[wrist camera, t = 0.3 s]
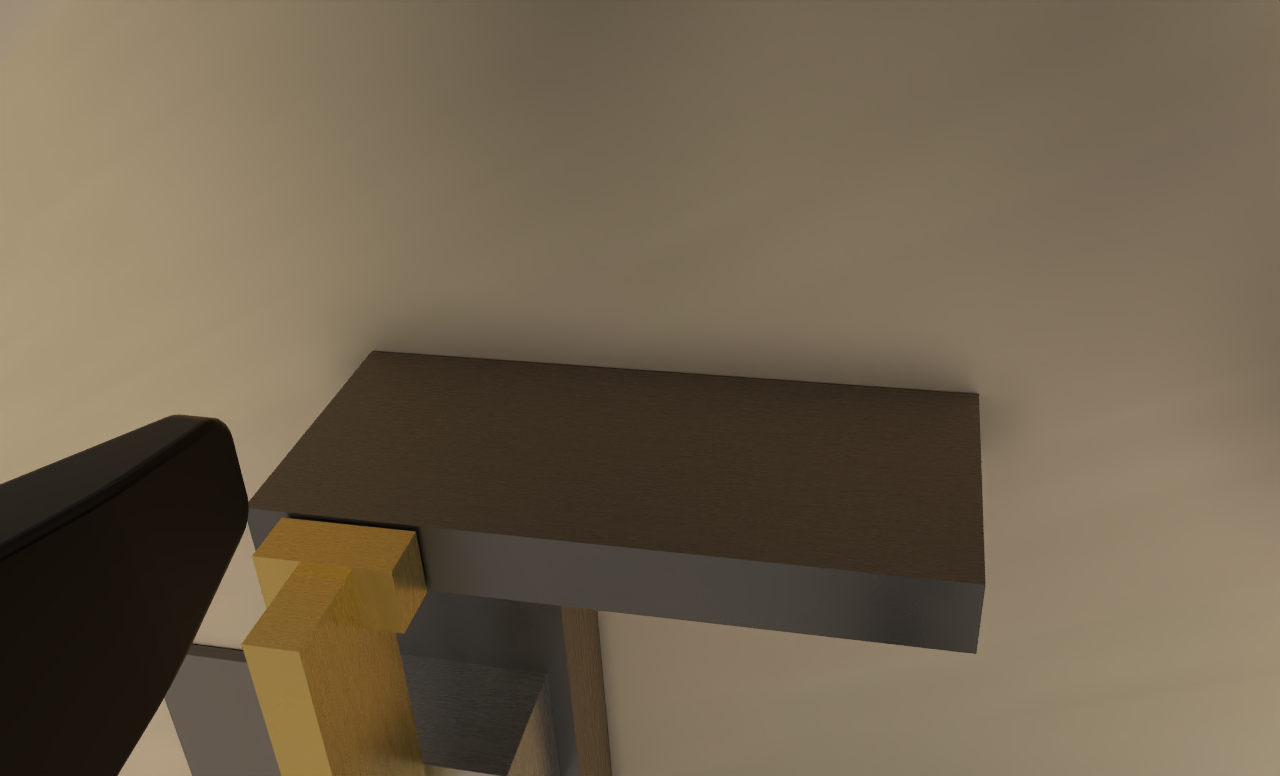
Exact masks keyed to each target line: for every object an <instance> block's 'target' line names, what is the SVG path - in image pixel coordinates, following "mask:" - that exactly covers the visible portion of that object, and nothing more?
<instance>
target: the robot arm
mask: <svg viewBox="0 0 1280 776" xmlns="http://www.w3.org/2000/svg"><path fill="white" fill-rule="evenodd" d="M248 513H249V505H248V497H247V493H246V489H245V485H244V481H243V477H242V473H241V469H240V465H239V461H238V458H237V454H236V450H235V446H234V442H233V438H232V435H231V432H230V430H229V429H228V427H227V426H226V424H225V423H224V422H222V421H220V420H219V419H216V418H208V417H199V416H189V415H172V416H169V417H166V418H163V419H161V420H158V421H156V422H153V423H151V424H148V425H146V426H144V427H141V428H139V429H136V430H134V431H131V432H129V433H126V434H124V435H121V436H119V437H116V438H114V439H111V440H109V441H106V442H104V443H102V444H99V445H97V446H94V447H92V448H89V449H87V450H84V451H82V452H79V453H77V454H74V455H72V456H69V457H67V458H64V459H62V460H60V461H57V462H55V463H52V464H50V465H47V466H45V467H42V468H40V469H37V470H35V471H32V472H30V473H27V474H25V475H22V476H20V477H18V478H15V479H13V480H10V481H8V482H5V483H3V484H0V776H118V774H119V772H120V771H121V769H122V767H123V766H124V764H125V762H126V761H127V759H128V757H129V756H130V754H131V752H132V751H133V749H134V748H135V746H136V744H137V743H138V741H139V739H140V738H141V736H142V734H143V733H144V731H145V729H146V728H147V726H148V724H149V723H150V721H151V719H152V718H153V716H154V714H155V713H156V711H157V709H158V708H159V706H160V704H161V702H162V701H163V699H164V697H165V695H166V694H167V692H168V690H169V688H170V687H171V685H172V683H173V681H174V679H175V677H176V675H177V673H178V671H179V669H180V667H181V665H182V663H183V661H184V659H185V657H186V655H187V653H188V651H189V649H190V647H191V644H192V642H193V640H194V638H195V636H196V634H197V632H198V630H199V627H200V625H201V623H202V621H203V619H204V617H205V615H206V612H207V610H208V608H209V606H210V604H211V602H212V600H213V597H214V595H215V593H216V591H217V589H218V587H219V585H220V583H221V580H222V578H223V576H224V574H225V572H226V570H227V568H228V565H229V563H230V561H231V559H232V557H233V555H234V553H235V551H236V548H237V546H238V544H239V542H240V540H241V538H242V536H243V533H244V531H245V528H246V524H247V520H248Z"/></svg>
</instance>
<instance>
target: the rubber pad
mask: <svg viewBox="0 0 1280 776" xmlns="http://www.w3.org/2000/svg"><path fill="white" fill-rule="evenodd" d="M164 698H165V701H166V704H167V707H168V709H169V712H170V715H171V718H172V721H173V723H174V726H175V729H176V732H177V734H178V737H179V740H180V743H181V746H182V748H183V751H184V754H185V757H186V759H187V762H188V765H189V768H190V771H191V773H192V776H281V773H280V770H279V766H278V763H277V760H276V756H275V753H274V750H273V747H272V743H271V740H270V737H269V733H268V730H267V727H266V723H265V720H264V717H263V714H262V710H261V707H260V704H259V700H258V697H257V694H256V690H255V687H254V684H253V681H252V677H251V674H250V671H249V667H248V664H247V661H246V658H245V654H244V651H238V650H231V649H223V648H216V647H208V646H200V645H193V644H191V647H190V649H189V651H188V653H187V655H186V657H185V659H184V661H183V663H182V665H181V667H180V669H179V671H178V673H177V675H176V677H175V679H174V681H173V683H172V685H171V687H170V688H169V690H168V692H167V694H166V695H165V697H164Z"/></svg>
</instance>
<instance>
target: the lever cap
mask: <svg viewBox="0 0 1280 776" xmlns="http://www.w3.org/2000/svg"><path fill="white" fill-rule="evenodd" d="M401 659H402V664H403V669H404V673H405V678H406V683H407V688H408V692H409V697H410V702H411V707H412V711H413V716H414V721H415V726H416V730H417V735H418V740H419V745H420V750H421V754H422V759H423V764H424V769H425V773H426V776H560V770H559V762H558V754H557V746H556V738H555V730H554V722H553V714H552V705H551V697H550V689H549V681H548V673H544V672H536V671H528V670H520V669H513V668H505V667H497V666H489V665H482V664H474V663H466V662H458V661H450V660H443V659H435V658H427V657H419V656H411V655H404V654H401Z"/></svg>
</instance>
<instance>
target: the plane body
mask: <svg viewBox="0 0 1280 776" xmlns="http://www.w3.org/2000/svg"><path fill="white" fill-rule="evenodd" d="M248 505H249V513H248V520H247V521H248V525H249V529H250V532H251V536H252V539H253V543H254V546H255V550H257V549H258V548H259V546H260V545H261V544H262V543H263V541H264V540H265V539H266V537H267V536H268V535H269V533H270V532H271V531H272V529H273V528H274V527H275V526H276V524H277V523H278V522H279V520H280V519H281V518H290V519H300V520H310V521H319V522H329V523H338V524H348V525H357V526H367V527H376V528H386V529H395V530H405V531H414V532H416V535H417V541H418V546H419V551H420V557H421V562H422V567H423V573H424V578H425V583H426V589H427V593H426V595H425V597H424V599H423V601H422V602H421V604H420V606H419V608H418V610H417V611H416V613H415V615H414V617H413V619H412V620H411V622H410V624H409V626H408V628H407V629H406V631H405V633H404V634H403V633H396V635H397V640H398V645H399V650H400V654H404V655H411V656H419V657H427V658H435V659H443V660H450V661H458V662H466V663H474V664H482V665H489V666H497V667H505V668H513V669H520V670H528V671H536V672H544V673H548V681H549V689H550V697H551V705H552V714H553V722H554V730H555V738H556V746H557V754H558V762H559V770H560V776H612V774H611V763H610V752H609V741H608V730H607V719H606V708H605V697H604V686H603V675H602V664H601V653H600V642H599V631H598V620H597V610H602V611H610V612H619V613H628V614H636V615H645V616H654V617H662V618H671V619H680V620H688V621H697V622H705V623H714V624H723V625H731V626H740V627H749V628H757V629H766V630H775V631H783V632H792V633H801V634H809V635H818V636H826V637H835V638H844V639H852V640H861V641H870V642H878V643H887V644H896V645H904V646H913V647H922V648H930V649H939V650H948V651H956V652H965V653H973V654H976V651H977V644H978V636H979V628H980V621H981V613H982V606H983V598H984V591H985V561H984V532H983V502H982V473H981V444H980V414H979V395H975V394H961V393H947V392H933V391H919V390H905V389H891V388H877V387H863V386H849V385H835V384H821V383H807V382H793V381H779V380H765V379H751V378H737V377H723V376H709V375H695V374H681V373H667V372H653V371H639V370H625V369H611V368H597V367H583V366H568V365H554V364H540V363H526V362H512V361H498V360H484V359H470V358H456V357H442V356H428V355H414V354H400V353H386V352H371V353H370V354H369V355H368V357H367V358H366V359H365V360H364V362H363V363H362V364H361V365H360V366H359V368H358V369H357V370H356V371H355V373H354V374H353V375H352V376H351V377H350V379H349V380H348V381H347V382H346V384H345V385H344V386H343V387H342V388H341V390H340V391H339V392H338V393H337V395H336V396H335V397H334V398H333V399H332V401H331V402H330V403H329V404H328V406H327V407H326V408H325V409H324V410H323V412H322V413H321V414H320V415H319V417H318V418H317V419H316V420H315V421H314V423H313V424H312V425H311V426H310V428H309V429H308V430H307V431H306V432H305V434H304V435H303V436H302V437H301V439H300V440H299V441H298V442H297V443H296V445H295V446H294V447H293V448H292V450H291V451H290V452H289V453H288V454H287V456H286V457H285V458H284V459H283V461H282V462H281V463H280V464H279V465H278V467H277V468H276V469H275V470H274V472H273V473H272V474H271V475H270V476H269V478H268V479H267V480H266V481H265V483H264V484H263V485H262V486H261V487H260V489H259V490H258V491H257V492H256V494H255V495H254V496H253V497H252V498H251V500H250V501H249V502H248Z"/></svg>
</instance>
